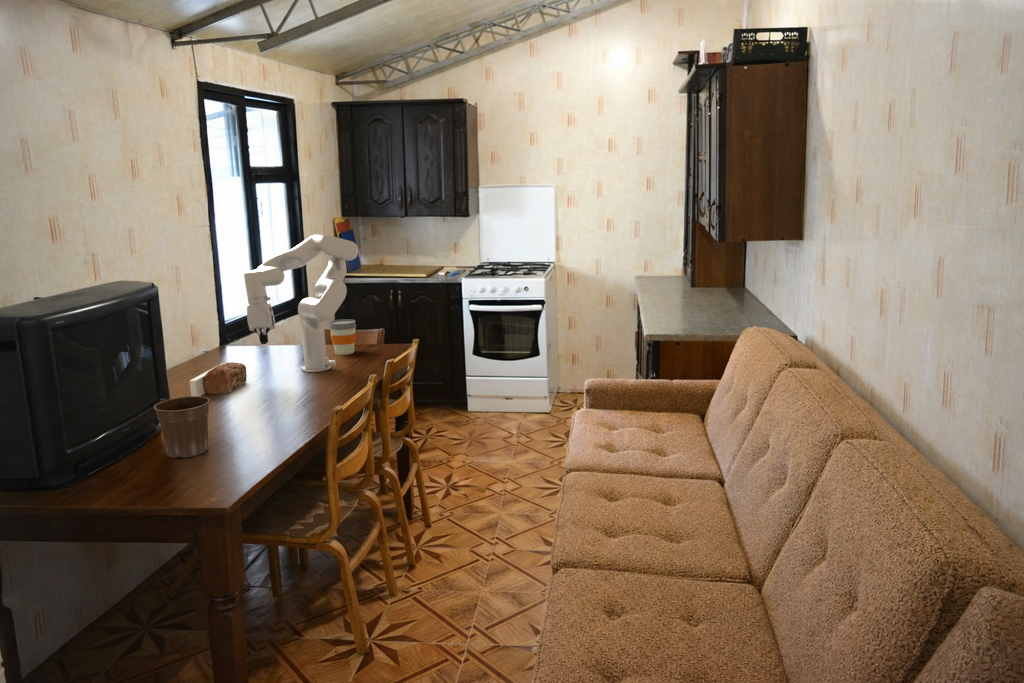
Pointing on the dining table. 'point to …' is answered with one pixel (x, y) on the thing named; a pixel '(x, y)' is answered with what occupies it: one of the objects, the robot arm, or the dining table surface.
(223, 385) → the bread
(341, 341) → the reusable coffee cup
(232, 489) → the dining table surface
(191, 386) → the board
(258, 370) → the dining table surface
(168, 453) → the plant pot
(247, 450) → the dining table surface
